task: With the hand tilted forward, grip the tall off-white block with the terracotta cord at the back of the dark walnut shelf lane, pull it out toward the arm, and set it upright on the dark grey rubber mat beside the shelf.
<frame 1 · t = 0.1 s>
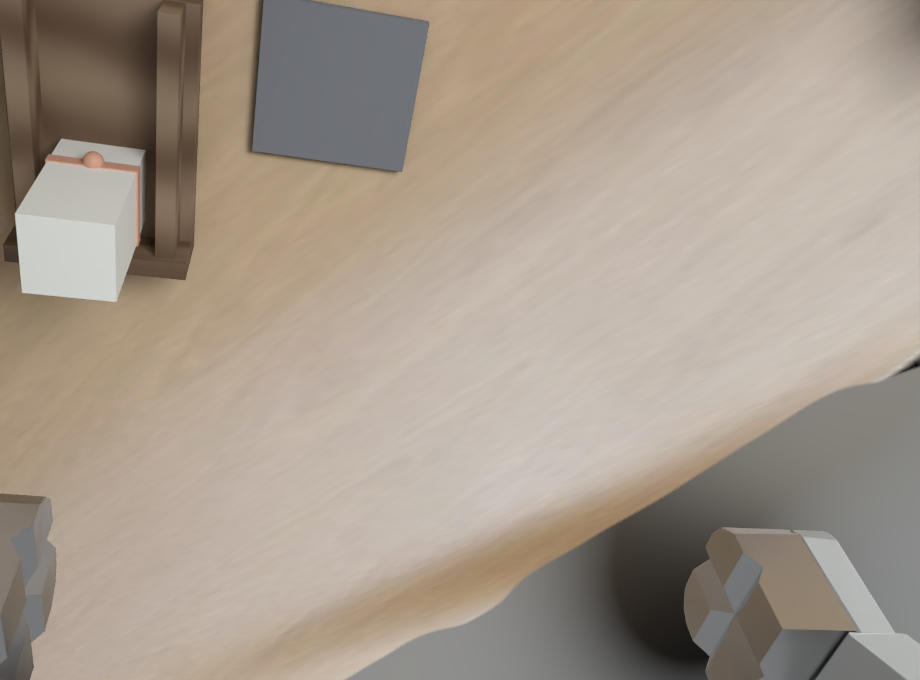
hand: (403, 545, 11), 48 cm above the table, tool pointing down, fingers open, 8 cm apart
shelf lane: (108, 120, 55), on the table
mat: (337, 86, 56), on the table
block: (104, 180, 56), point 1 cm above the table, touching shelf lane
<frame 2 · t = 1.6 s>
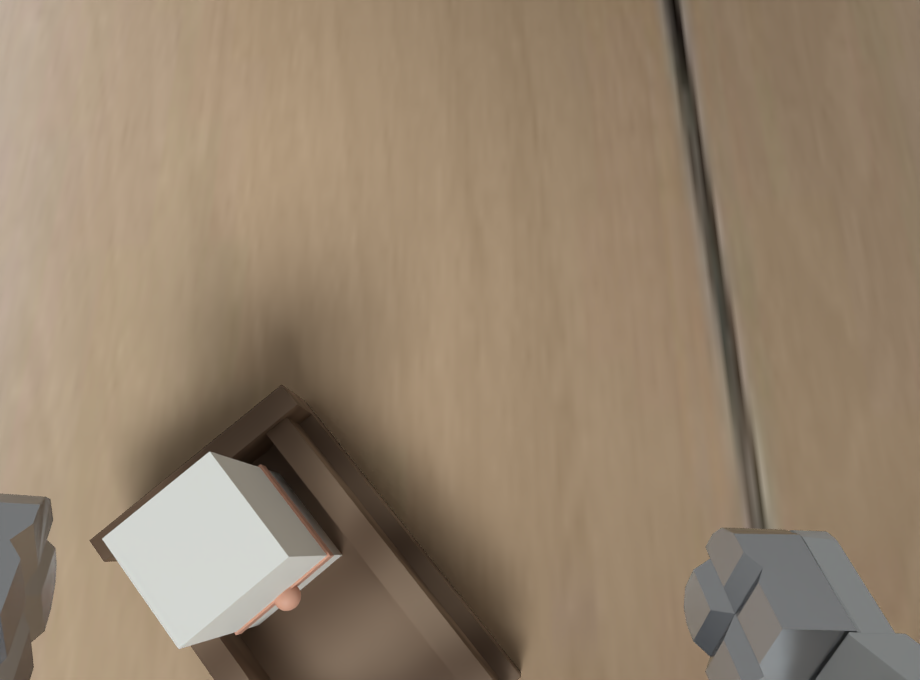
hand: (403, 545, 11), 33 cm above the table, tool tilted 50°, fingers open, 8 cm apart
shelf lane: (320, 604, 42), on the table
block: (269, 547, 41), point 1 cm above the table, touching shelf lane
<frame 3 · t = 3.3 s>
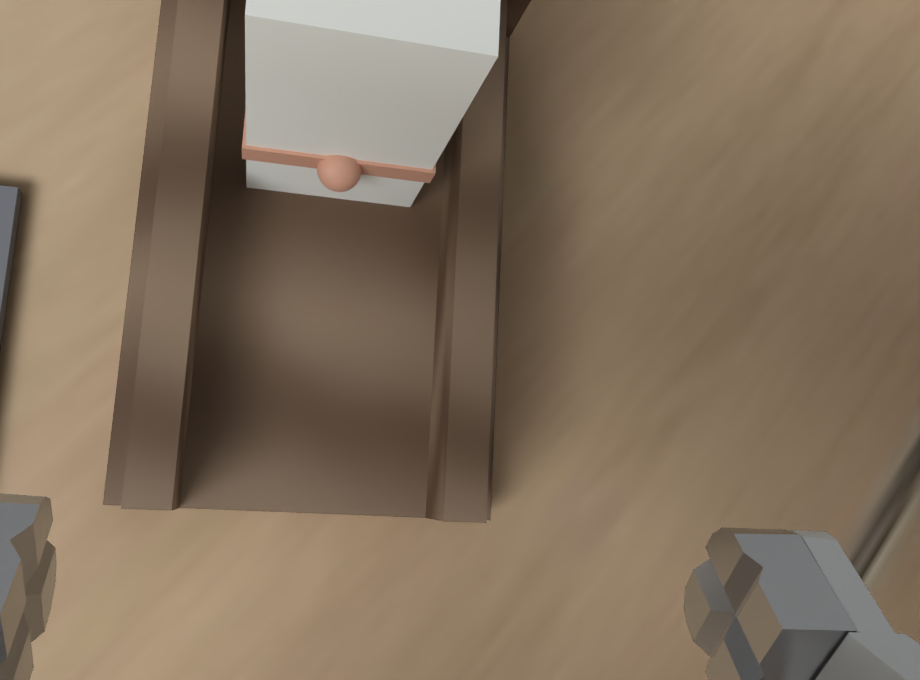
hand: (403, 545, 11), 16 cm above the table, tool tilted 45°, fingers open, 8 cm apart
shelf lane: (323, 242, 28), on the table
block: (335, 121, 27), point 1 cm above the table, touching shelf lane
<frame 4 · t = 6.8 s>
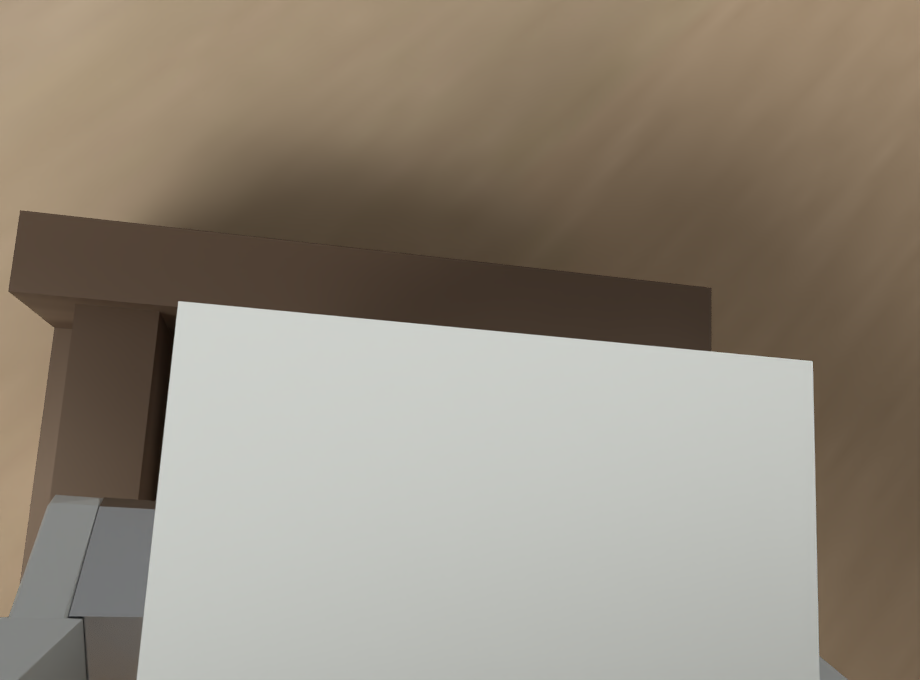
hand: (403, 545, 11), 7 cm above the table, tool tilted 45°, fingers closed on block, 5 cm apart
block: (352, 560, 16), point 1 cm above the table, touching gripper, shelf lane
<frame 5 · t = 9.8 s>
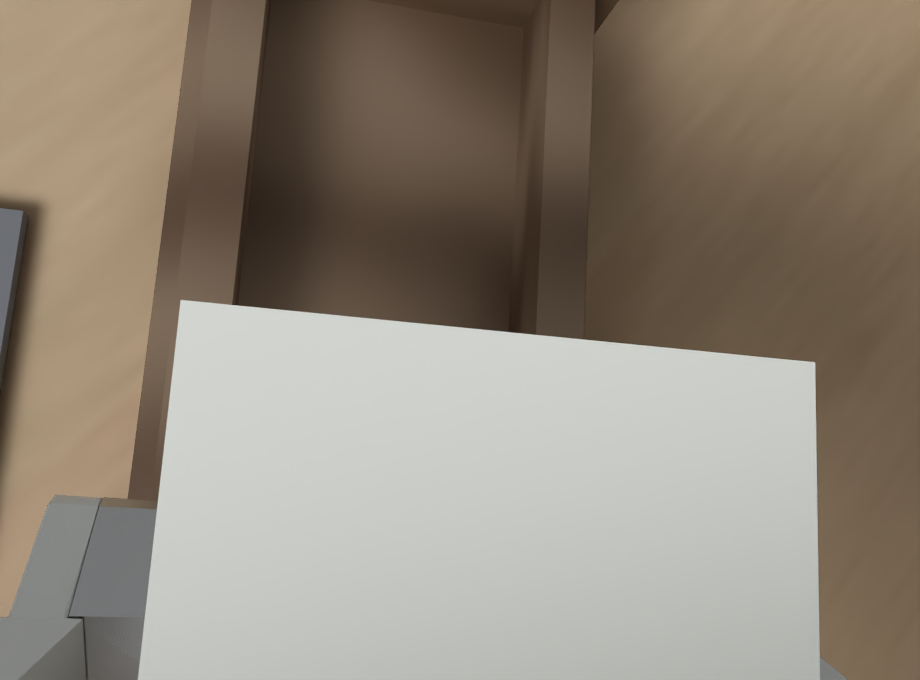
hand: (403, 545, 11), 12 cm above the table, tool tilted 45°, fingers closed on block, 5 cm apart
shelf lane: (374, 275, 24), on the table
block: (352, 557, 16), point 7 cm above the table, touching gripper
when the fingers open (7 cm above the table, at t = 13.3 s): block drops 2 cm, resting on mat.
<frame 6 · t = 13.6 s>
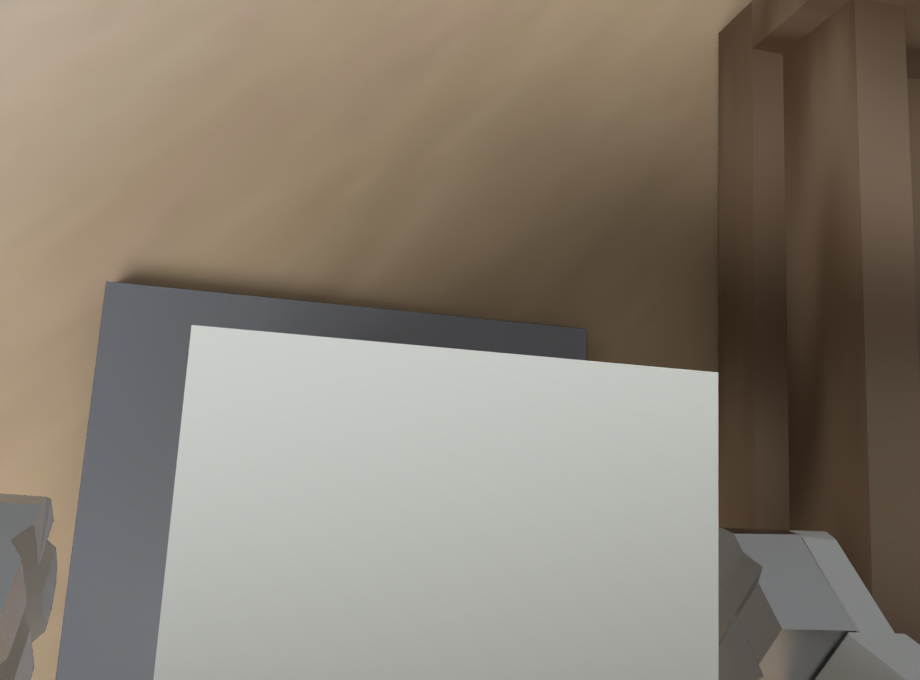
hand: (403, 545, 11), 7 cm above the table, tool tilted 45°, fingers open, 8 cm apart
shelf lane: (919, 386, 21), on the table
mat: (340, 551, 18), on the table
block: (342, 549, 17), resting on mat
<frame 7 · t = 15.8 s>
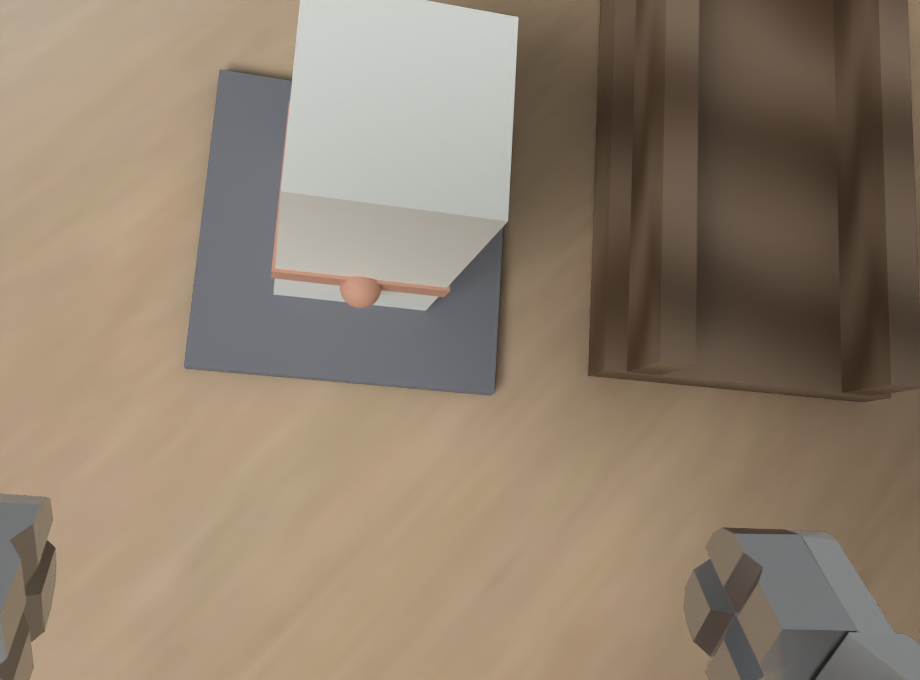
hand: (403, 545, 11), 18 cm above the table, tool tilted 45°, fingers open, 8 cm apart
shelf lane: (731, 168, 33), on the table
mat: (355, 236, 29), on the table
block: (357, 229, 29), resting on mat
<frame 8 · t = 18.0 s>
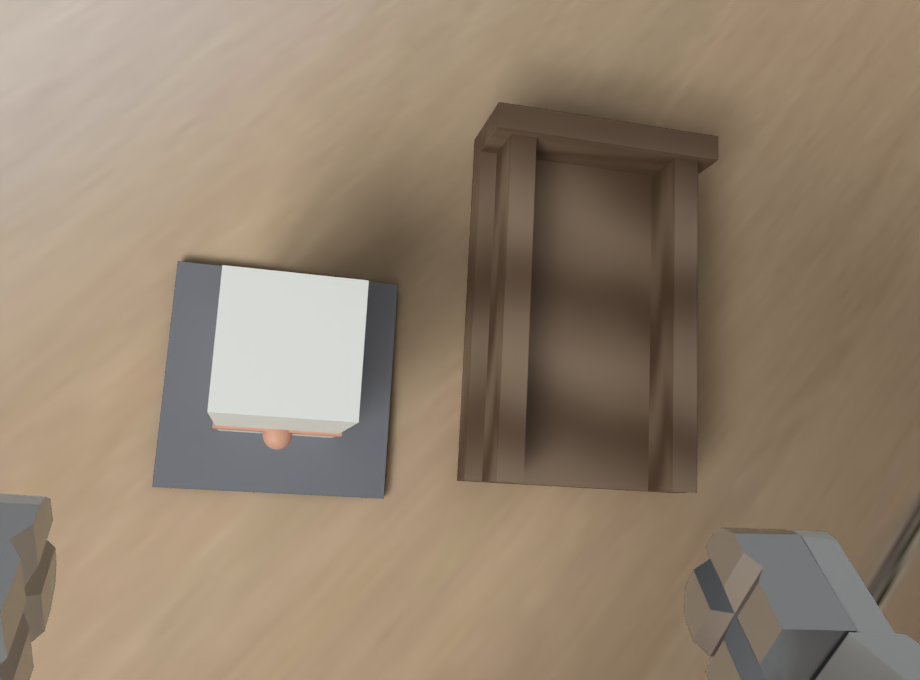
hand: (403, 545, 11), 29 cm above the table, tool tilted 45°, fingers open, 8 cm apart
shelf lane: (572, 315, 43), on the table
mat: (280, 381, 40), on the table
block: (280, 378, 39), resting on mat
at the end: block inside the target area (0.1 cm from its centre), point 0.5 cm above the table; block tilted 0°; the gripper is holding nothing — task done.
